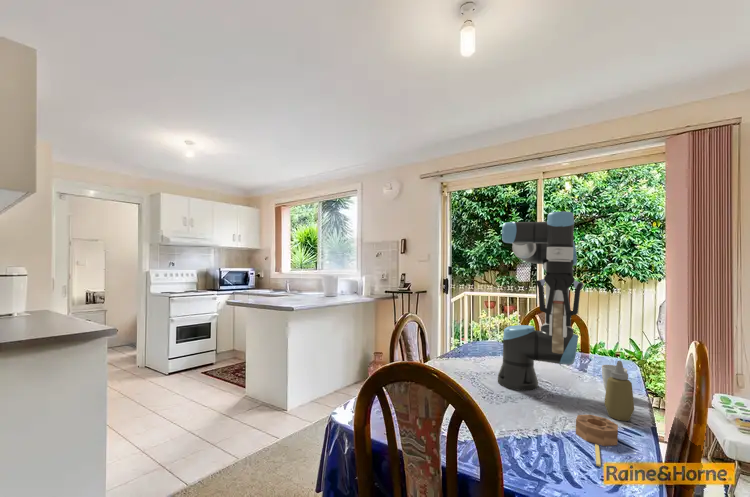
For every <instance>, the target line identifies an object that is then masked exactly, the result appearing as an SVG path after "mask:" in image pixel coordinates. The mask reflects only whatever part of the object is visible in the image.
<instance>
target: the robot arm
mask: <svg viewBox="0 0 750 497" xmlns="http://www.w3.org/2000/svg"><path fill="white" fill-rule="evenodd" d="M574 217H575V215H574V213H573V212H572V211H563V210H562V211H561V210H560V211H552V212H549V213H548V214H547V220H546V221H508V222H504V223H503V224H502V229H501V240H502V242H503V243H505V244H512V246H511V247H512V248H511V250H512V252H513V254H514V256H515V257H517V258H518V260H519V259H520V261H521V260H522V261H524V262H526V263H529V264H530V263H531V264H536V265H537V264H538V265H542V268H543V270H545V276H544V278H542V279H538V280H536V281H535V284H536V286H537V288H538V304H539V311H540V312H542V313H544V314H545V315H544V323H543V324H542V325H541V326H540V330H536V328H535V326H534V325H528V324H526V325H525V324H517V325H510V326H507V327H505V328H504V329H503V337H502V347H503V348H502V364H501V366H500V370H499V372H498V374H497V383H498V384H499V385H501V386H503V387H504V388H508V389H512V390H515V391H522V392H523V391H525V392H528V391H529V392H530V391H531V392H532V391H536V390H538V389H539V379H538V376H537V374H536V370H535V367H534V366H535V362H537V361H538V362H544V363H550V364H558V365H566V366H567V365H568V366H571V365H573V364H574V363H575V360H576V354H577V347H578V342H579V341H578V340H579V336H578V335H577V334H576V333H574V329H573V327H572V316H576V315H577V314H578V313H579V307H580V300H581V299H580V297H581V290H582V288H583V286H584V283H583V282H579V281H577V280H576V279H575V277H574V266H576V265H577V262H578V259H577V258H578V257H577V248H576V244H575V242H574V237H575V236H574V233H575V230H574V227H575V218H574ZM572 285H573V288H575V290H574V297H573V306H572V308H571V303H570V287H571V286H572ZM544 286H545V288H544ZM554 300H556V301H564V316H563V337H564V347H563V354H558V353H553V352H552V327H553V301H554ZM571 309H572V310H571Z"/></svg>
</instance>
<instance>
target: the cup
mask: <svg viewBox="0 0 750 497" xmlns="http://www.w3.org/2000/svg"><path fill="white" fill-rule="evenodd" d="M615 368H616V365H614V364H602V365H601V376H602V377H601V378H602V382H603V387H604V391H605V392H606V387H607V379H608V378H609V377H611V371H615ZM623 369H624V372H625V373H627V374H628V369H627V368H625V367H623Z"/></svg>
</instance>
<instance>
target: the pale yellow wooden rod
mask: <svg viewBox="0 0 750 497" xmlns="http://www.w3.org/2000/svg"><path fill="white" fill-rule="evenodd" d="M594 452H595V465H596V467H599V468H600V467H601V453H600V445H599V444H595V443H594Z"/></svg>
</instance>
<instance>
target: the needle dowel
mask: <svg viewBox="0 0 750 497" xmlns="http://www.w3.org/2000/svg"><path fill="white" fill-rule="evenodd" d="M563 316H564V301H556V300H554V301H553V327H552V352H553V353H558V354H563V347H564V337H563Z"/></svg>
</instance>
